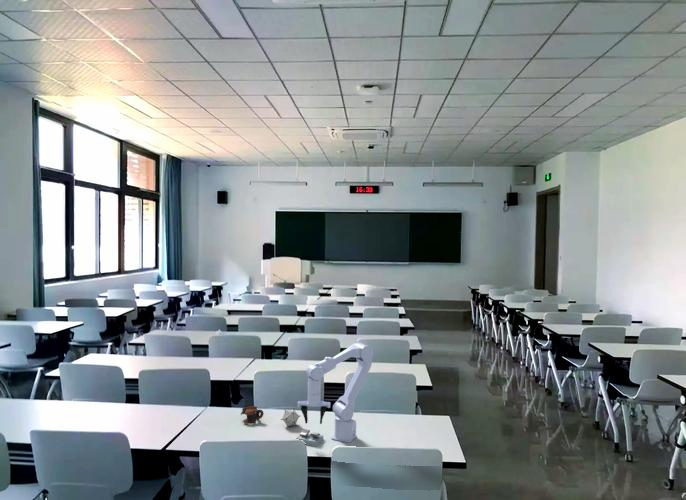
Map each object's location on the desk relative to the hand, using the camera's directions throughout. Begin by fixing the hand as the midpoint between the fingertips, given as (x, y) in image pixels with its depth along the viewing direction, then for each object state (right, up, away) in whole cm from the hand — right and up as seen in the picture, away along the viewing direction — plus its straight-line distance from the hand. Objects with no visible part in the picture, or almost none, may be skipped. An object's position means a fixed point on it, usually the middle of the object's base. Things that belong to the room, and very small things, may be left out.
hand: (313, 422), depth 214 cm
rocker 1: (-4, -6, +4) cm, 8 cm away
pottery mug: (-32, -8, +25) cm, 41 cm away
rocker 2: (+1, -6, +2) cm, 7 cm away
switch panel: (-2, -9, +3) cm, 10 cm away
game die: (-12, -9, +19) cm, 25 cm away
